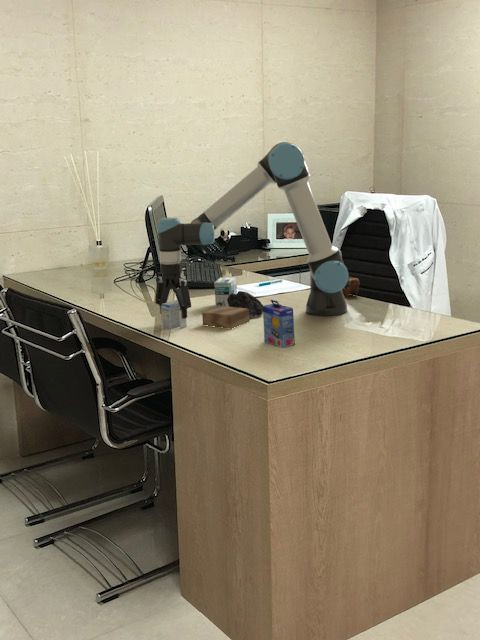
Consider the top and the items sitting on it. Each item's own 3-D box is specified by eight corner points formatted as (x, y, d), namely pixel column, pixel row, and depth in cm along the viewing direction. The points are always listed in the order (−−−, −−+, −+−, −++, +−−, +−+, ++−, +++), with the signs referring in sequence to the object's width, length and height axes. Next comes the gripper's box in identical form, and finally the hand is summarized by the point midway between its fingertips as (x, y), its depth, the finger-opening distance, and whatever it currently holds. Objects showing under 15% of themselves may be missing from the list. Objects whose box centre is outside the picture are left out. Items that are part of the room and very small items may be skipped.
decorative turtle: (352, 299, 314) (350, 279, 312) (326, 296, 326) (324, 277, 324) (369, 294, 319) (367, 275, 318) (343, 291, 331) (341, 273, 330)
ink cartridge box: (263, 342, 258) (261, 298, 255) (276, 339, 261) (275, 295, 258) (281, 348, 250) (280, 303, 247) (295, 345, 253) (294, 300, 250)
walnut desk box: (249, 322, 286) (248, 308, 284) (231, 330, 276) (230, 315, 275) (221, 319, 292) (221, 305, 291) (202, 326, 282) (202, 312, 281)
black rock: (271, 314, 298) (270, 288, 297) (254, 319, 286) (252, 292, 285) (240, 314, 305) (238, 288, 303) (222, 319, 293) (220, 292, 292)
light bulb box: (232, 309, 305) (230, 282, 302) (215, 309, 306) (213, 282, 304) (237, 303, 315) (236, 277, 313) (221, 303, 316) (220, 277, 314)
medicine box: (177, 322, 288) (176, 299, 286) (186, 324, 285) (185, 300, 283) (162, 327, 282) (160, 303, 280) (171, 329, 279) (169, 305, 277)
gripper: (200, 263, 274) (203, 327, 280) (157, 258, 288) (161, 319, 293) (185, 266, 269) (188, 331, 274) (142, 261, 282) (146, 323, 287)
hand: (174, 325), depth 284 cm, fingers open, 8 cm apart
